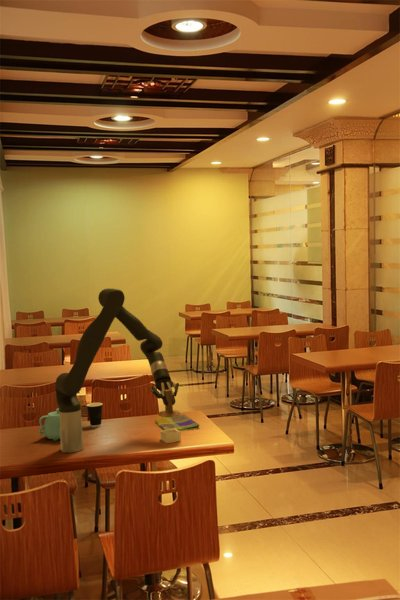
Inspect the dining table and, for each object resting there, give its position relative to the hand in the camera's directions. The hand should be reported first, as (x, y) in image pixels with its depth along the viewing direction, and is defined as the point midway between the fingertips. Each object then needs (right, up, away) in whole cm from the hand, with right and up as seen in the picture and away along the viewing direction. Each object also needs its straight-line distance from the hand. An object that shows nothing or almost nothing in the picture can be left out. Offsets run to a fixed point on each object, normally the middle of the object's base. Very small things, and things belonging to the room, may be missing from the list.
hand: (170, 404), depth 276 cm
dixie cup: (-39, -17, +36) cm, 55 cm away
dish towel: (+2, -16, +29) cm, 33 cm away
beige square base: (0, -16, +3) cm, 17 cm away
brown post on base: (-1, -5, +2) cm, 5 cm away
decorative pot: (-52, -19, +18) cm, 58 cm away
